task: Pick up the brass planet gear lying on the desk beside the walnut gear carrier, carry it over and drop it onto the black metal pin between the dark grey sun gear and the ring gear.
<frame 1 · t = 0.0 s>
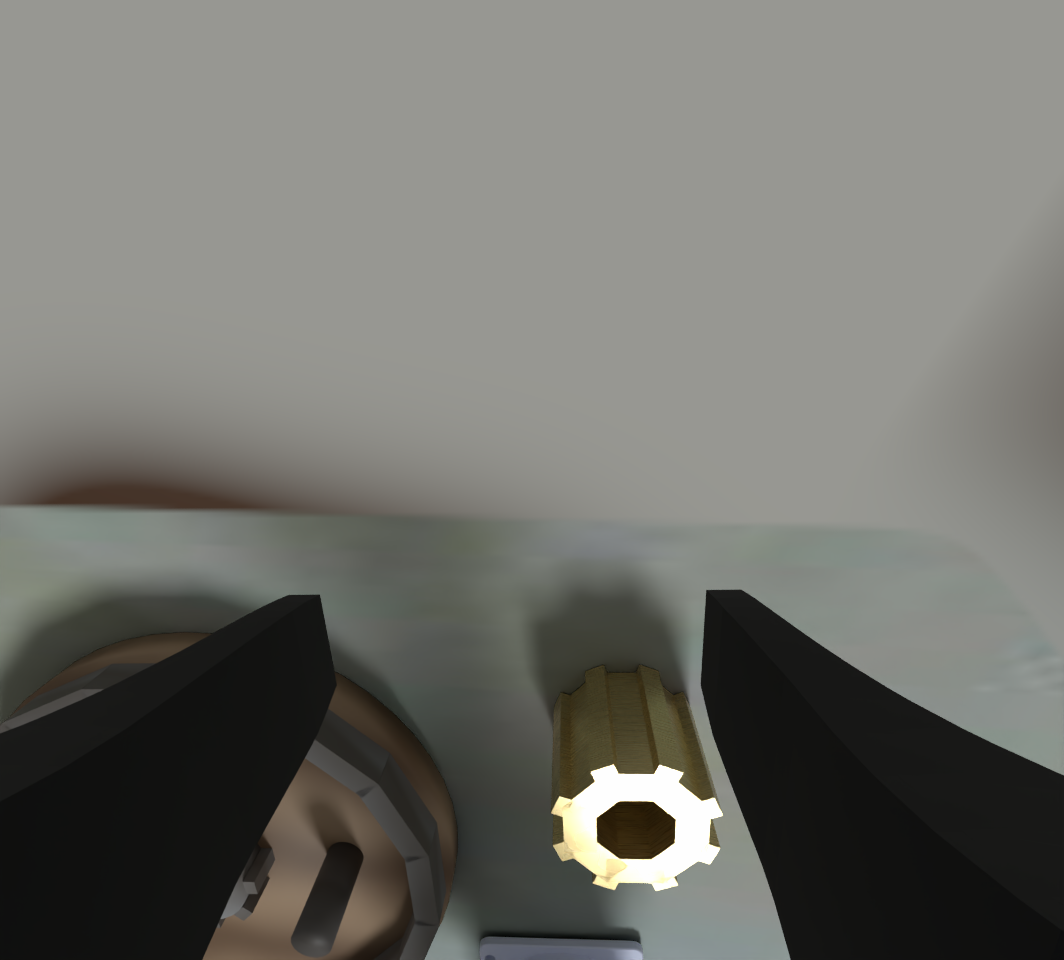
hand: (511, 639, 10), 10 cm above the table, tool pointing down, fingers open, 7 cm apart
gear carrier: (238, 822, 26), on the table
planet gear: (621, 720, 23), on the table
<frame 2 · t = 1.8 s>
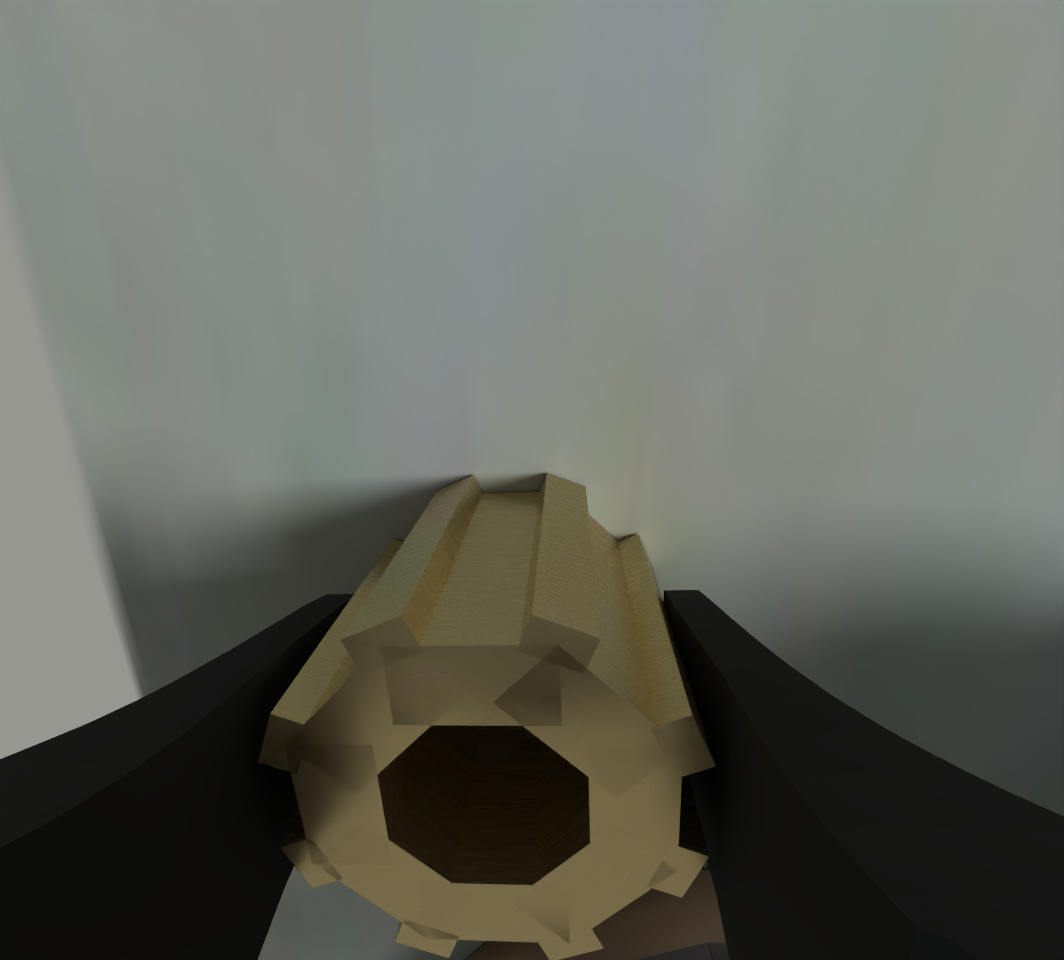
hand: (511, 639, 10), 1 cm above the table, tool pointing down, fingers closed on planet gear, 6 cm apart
planet gear: (517, 599, 12), on the table, touching gripper
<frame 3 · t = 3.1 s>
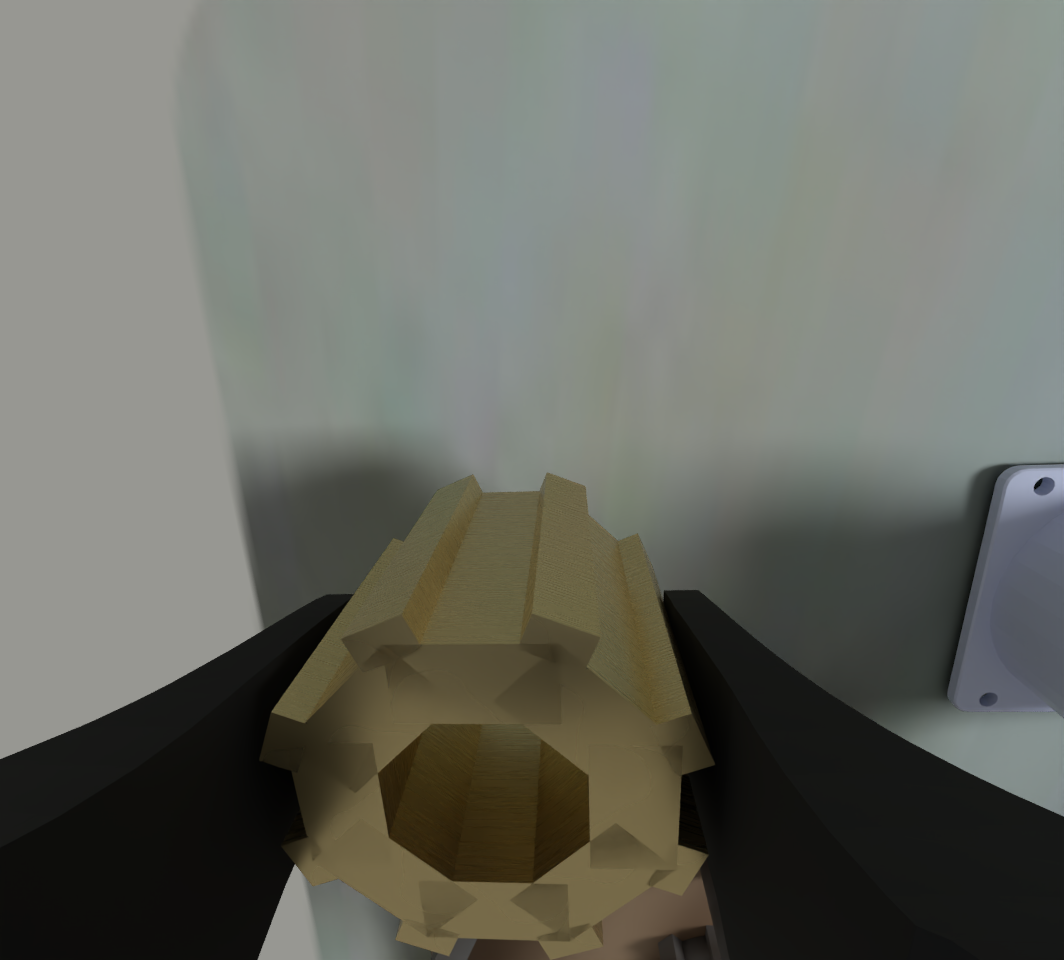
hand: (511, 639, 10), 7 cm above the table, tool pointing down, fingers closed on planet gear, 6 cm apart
gear carrier: (702, 928, 22), on the table
planet gear: (517, 599, 12), point 5 cm above the table, touching gripper
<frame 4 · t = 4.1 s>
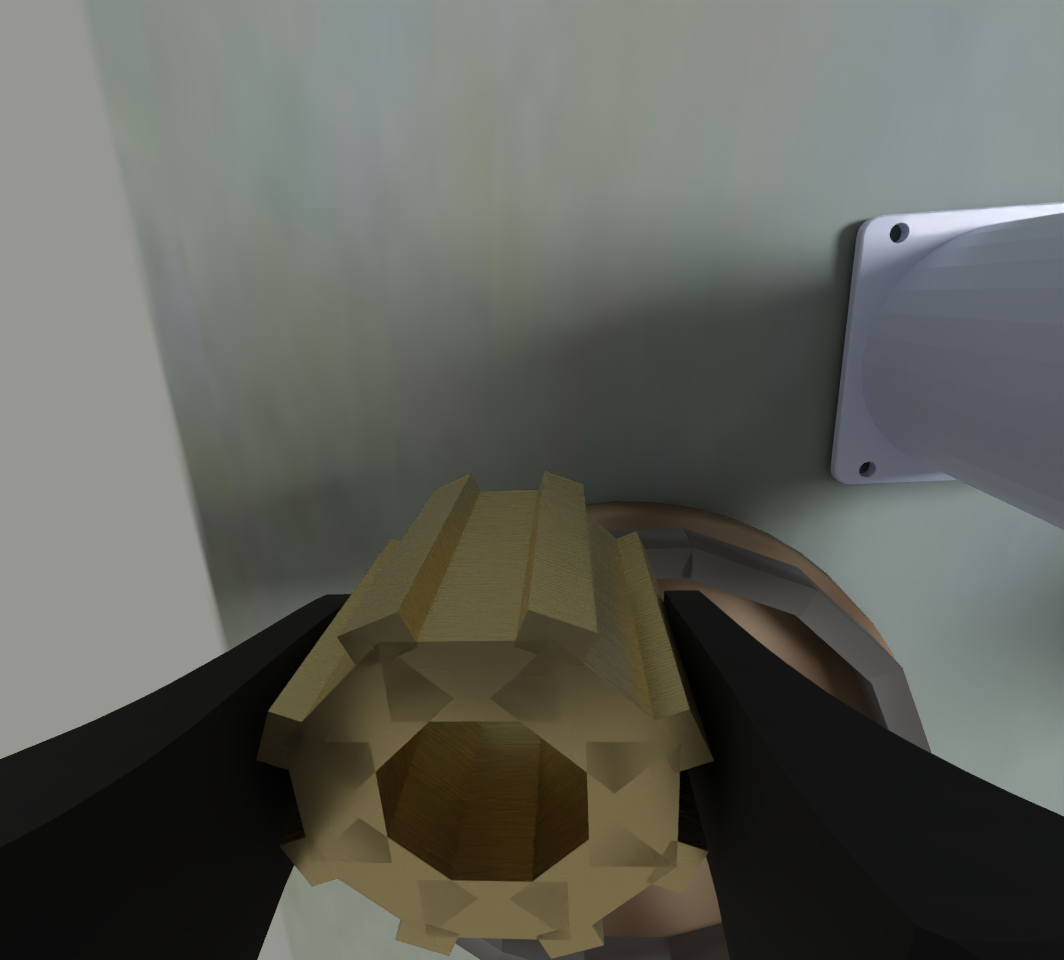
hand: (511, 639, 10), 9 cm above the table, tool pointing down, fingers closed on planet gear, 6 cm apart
gear carrier: (619, 742, 23), on the table
planet gear: (516, 598, 12), point 8 cm above the table, touching gripper
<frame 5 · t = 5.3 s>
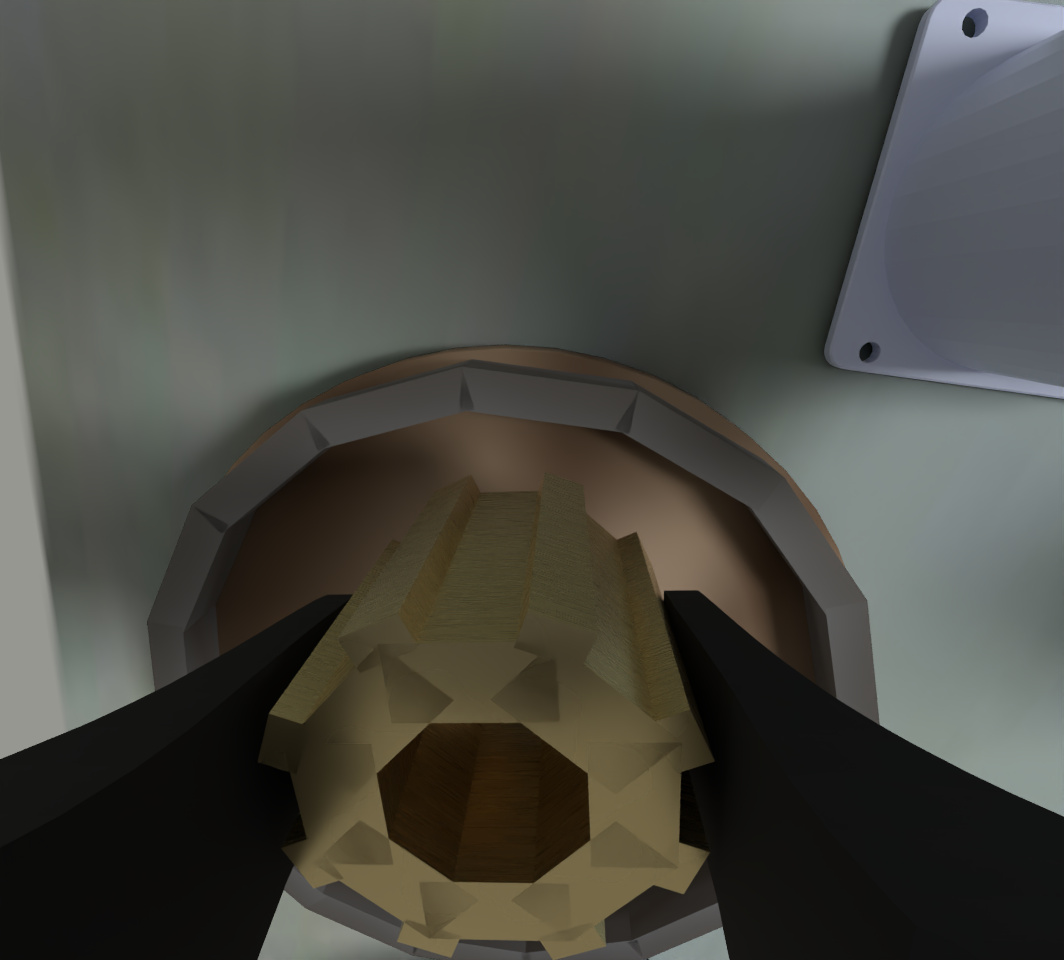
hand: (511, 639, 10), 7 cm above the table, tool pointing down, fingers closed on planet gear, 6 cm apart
gear carrier: (511, 665, 19), on the table
planet gear: (517, 599, 12), point 5 cm above the table, touching gripper
when the fingers open (4 cm above the table, at t = 6.5 s): planet gear stays where it is, resting on gear carrier.
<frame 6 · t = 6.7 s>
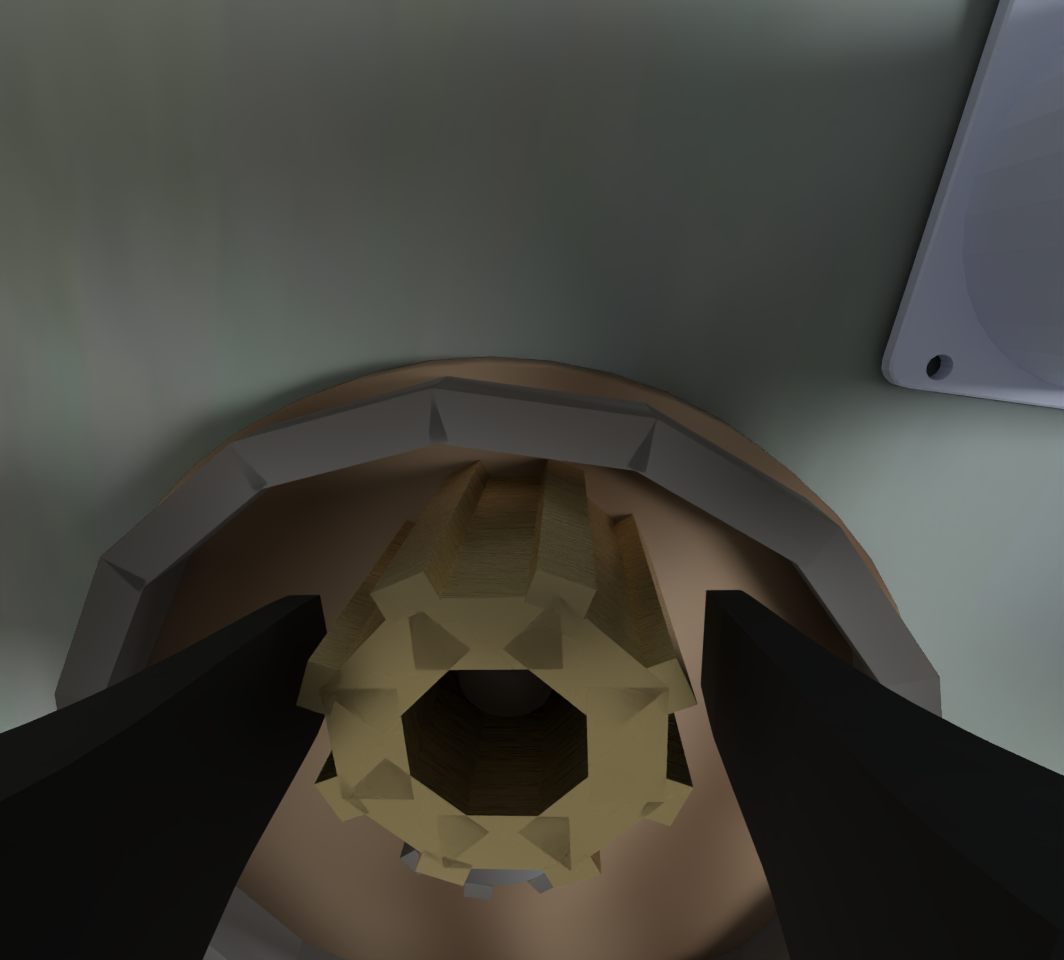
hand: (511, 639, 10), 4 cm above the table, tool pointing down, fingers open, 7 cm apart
gear carrier: (501, 729, 16), on the table
planet gear: (521, 576, 13), point 1 cm above the table, touching gear carrier
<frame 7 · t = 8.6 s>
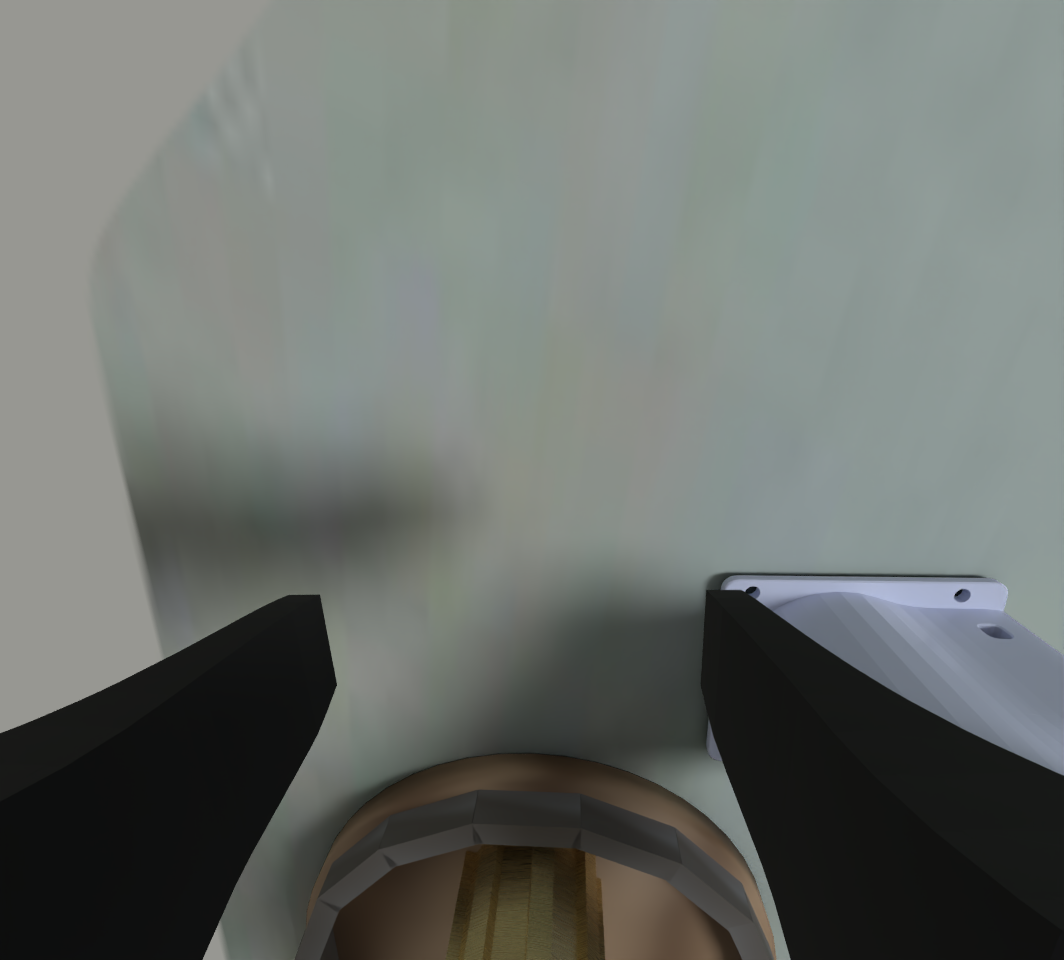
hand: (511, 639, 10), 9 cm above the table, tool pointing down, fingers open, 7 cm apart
gear carrier: (536, 929, 26), on the table
planet gear: (531, 871, 23), point 1 cm above the table, touching gear carrier
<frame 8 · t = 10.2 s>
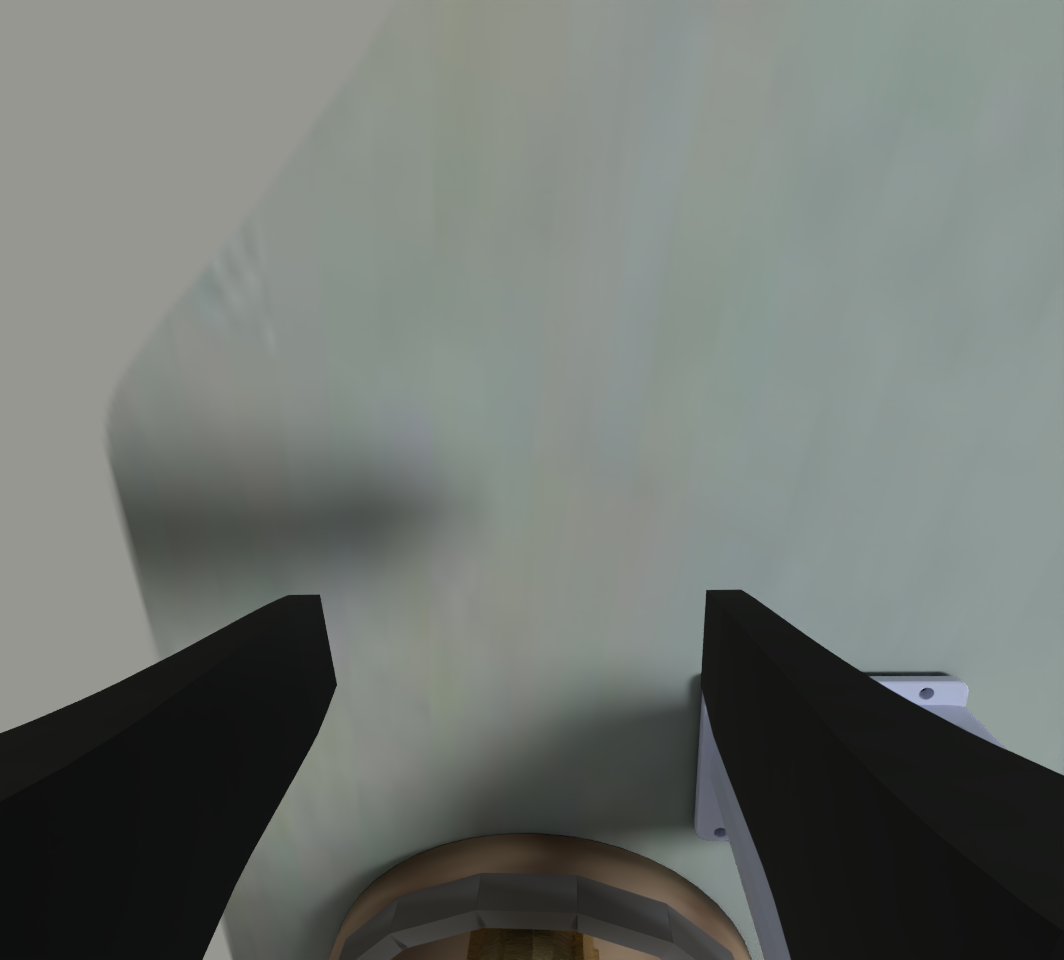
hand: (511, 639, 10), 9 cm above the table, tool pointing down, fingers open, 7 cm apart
planet gear: (533, 943, 25), point 1 cm above the table, touching gear carrier
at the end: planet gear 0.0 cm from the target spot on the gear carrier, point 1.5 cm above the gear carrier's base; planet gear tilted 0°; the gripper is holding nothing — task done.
